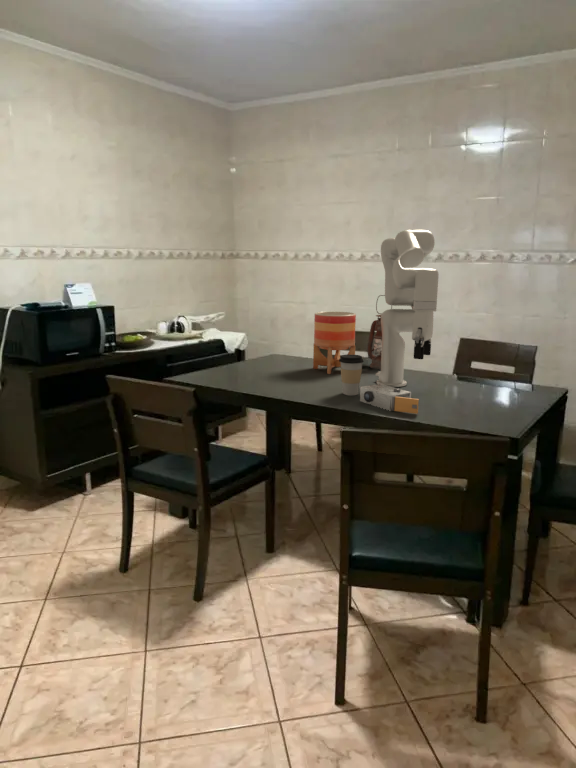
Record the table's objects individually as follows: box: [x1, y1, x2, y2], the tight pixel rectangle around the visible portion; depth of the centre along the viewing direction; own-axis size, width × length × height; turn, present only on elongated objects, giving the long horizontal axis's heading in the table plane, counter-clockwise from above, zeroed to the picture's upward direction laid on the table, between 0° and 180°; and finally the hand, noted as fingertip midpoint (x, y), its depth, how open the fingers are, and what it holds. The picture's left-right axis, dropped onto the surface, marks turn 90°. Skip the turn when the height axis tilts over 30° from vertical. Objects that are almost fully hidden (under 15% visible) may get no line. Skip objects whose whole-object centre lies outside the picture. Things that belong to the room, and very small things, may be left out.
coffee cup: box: [339, 354, 364, 396], centre depth 219 cm, size 9×9×15 cm
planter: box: [312, 311, 357, 375], centre depth 264 cm, size 20×20×27 cm
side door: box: [392, 396, 420, 415], centre depth 193 cm, size 1×9×5 cm, turn 64°
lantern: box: [366, 294, 393, 370], centre depth 270 cm, size 11×16×35 cm
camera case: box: [359, 383, 412, 412], centre depth 204 cm, size 16×11×6 cm
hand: (422, 356), depth 192 cm, fingers open, 9 cm apart
